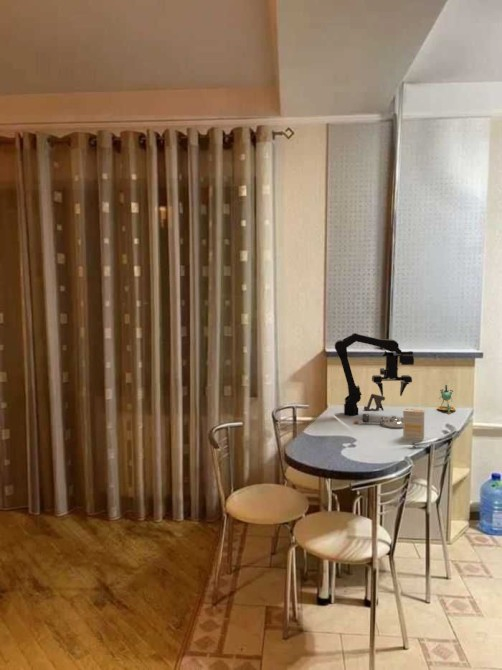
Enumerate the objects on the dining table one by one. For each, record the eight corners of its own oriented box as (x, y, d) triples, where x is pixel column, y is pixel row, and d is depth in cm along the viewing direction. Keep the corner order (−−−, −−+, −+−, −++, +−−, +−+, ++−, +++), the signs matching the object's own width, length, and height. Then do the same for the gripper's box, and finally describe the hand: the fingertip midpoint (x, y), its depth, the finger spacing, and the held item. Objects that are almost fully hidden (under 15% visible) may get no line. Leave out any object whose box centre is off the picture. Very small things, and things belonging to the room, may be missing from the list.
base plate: (359, 434, 224) (359, 430, 224) (350, 421, 248) (350, 417, 248) (428, 434, 223) (428, 430, 223) (413, 421, 247) (413, 417, 247)
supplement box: (424, 440, 215) (425, 409, 214) (423, 443, 211) (423, 412, 210) (404, 437, 219) (404, 408, 218) (402, 440, 214) (403, 410, 213)
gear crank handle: (406, 422, 240) (406, 413, 240) (409, 429, 228) (409, 419, 228) (362, 420, 245) (362, 411, 244) (362, 426, 233) (362, 417, 233)
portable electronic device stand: (363, 410, 272) (363, 394, 271) (375, 408, 275) (375, 393, 275) (375, 413, 264) (375, 397, 263) (386, 411, 268) (386, 396, 267)
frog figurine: (434, 413, 263) (434, 385, 263) (438, 410, 279) (438, 383, 279) (454, 415, 259) (454, 386, 259) (456, 411, 275) (457, 384, 275)
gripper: (406, 362, 260) (406, 392, 261) (369, 362, 261) (369, 392, 262) (412, 365, 249) (412, 397, 250) (374, 365, 250) (373, 397, 251)
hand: (391, 395), depth 254 cm, fingers open, 9 cm apart
